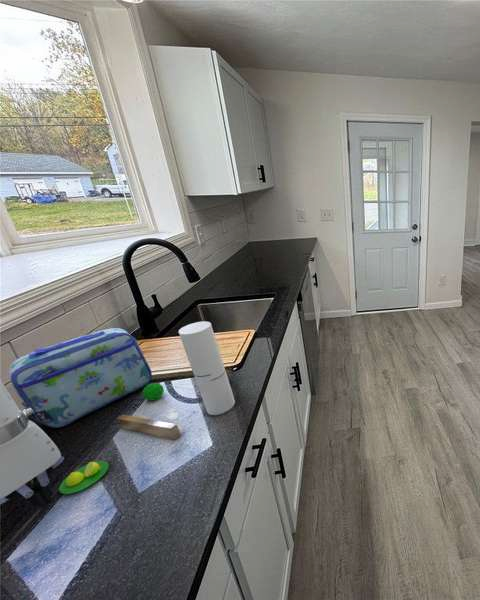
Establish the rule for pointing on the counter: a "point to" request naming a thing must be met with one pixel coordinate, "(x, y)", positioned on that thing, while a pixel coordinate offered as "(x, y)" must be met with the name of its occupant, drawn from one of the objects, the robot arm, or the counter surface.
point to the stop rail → (149, 426)
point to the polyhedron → (153, 391)
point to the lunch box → (79, 375)
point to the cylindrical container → (207, 367)
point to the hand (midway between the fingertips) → (44, 503)
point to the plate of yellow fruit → (83, 477)
